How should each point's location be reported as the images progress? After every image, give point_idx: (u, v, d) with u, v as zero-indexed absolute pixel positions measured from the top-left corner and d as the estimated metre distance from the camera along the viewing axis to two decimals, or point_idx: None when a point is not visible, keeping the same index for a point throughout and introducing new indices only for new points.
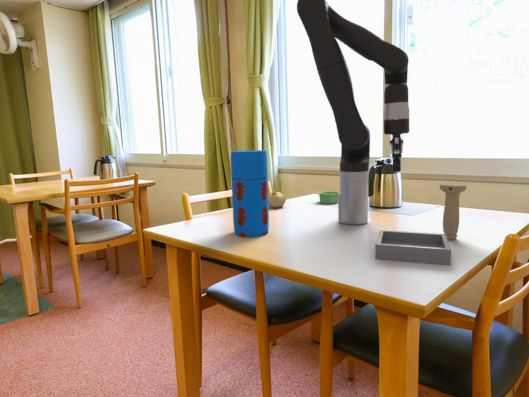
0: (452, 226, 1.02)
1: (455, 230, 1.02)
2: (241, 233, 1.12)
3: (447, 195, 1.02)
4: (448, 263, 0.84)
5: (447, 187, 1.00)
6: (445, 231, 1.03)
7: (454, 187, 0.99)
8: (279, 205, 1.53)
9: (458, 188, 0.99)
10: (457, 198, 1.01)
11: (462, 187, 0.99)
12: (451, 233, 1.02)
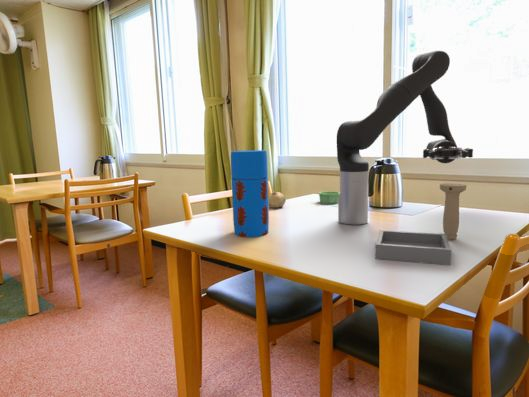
0: (452, 226, 1.02)
1: (455, 230, 1.02)
2: (241, 233, 1.12)
3: (447, 195, 1.02)
4: (448, 263, 0.84)
5: (447, 187, 1.00)
6: (445, 231, 1.03)
7: (454, 187, 0.99)
8: (279, 205, 1.53)
9: (458, 188, 0.99)
10: (457, 198, 1.01)
11: (462, 187, 0.99)
12: (451, 233, 1.02)
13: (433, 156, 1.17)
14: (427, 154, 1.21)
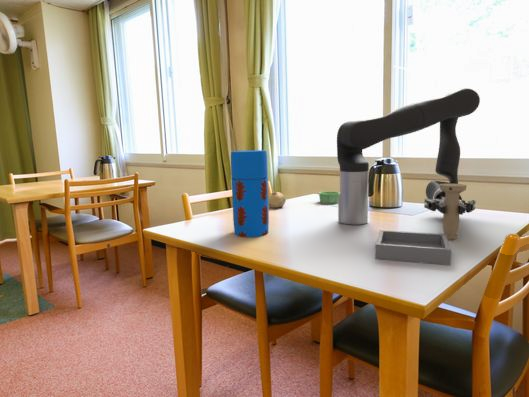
0: (452, 226, 1.02)
1: (455, 230, 1.02)
2: (241, 233, 1.12)
3: (447, 195, 1.02)
4: (448, 263, 0.84)
5: (447, 187, 1.00)
6: (445, 231, 1.03)
7: (454, 187, 0.99)
8: (279, 205, 1.53)
9: (458, 188, 0.99)
10: (457, 198, 1.01)
11: (462, 187, 0.99)
12: (451, 233, 1.02)
13: (444, 211, 1.01)
14: (436, 207, 1.05)
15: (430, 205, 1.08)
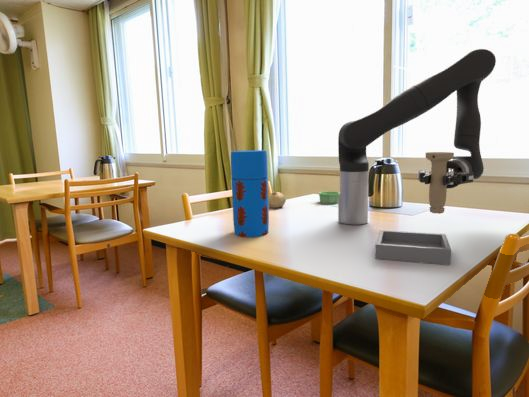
0: (436, 198, 0.93)
1: (440, 203, 0.93)
2: (241, 233, 1.12)
3: (432, 164, 0.93)
4: (448, 263, 0.84)
5: (430, 155, 0.92)
6: (430, 204, 0.95)
7: (437, 155, 0.91)
8: (279, 205, 1.53)
9: (441, 156, 0.90)
10: (442, 167, 0.92)
11: (446, 155, 0.90)
12: (436, 206, 0.94)
13: (426, 182, 0.93)
14: None
15: None
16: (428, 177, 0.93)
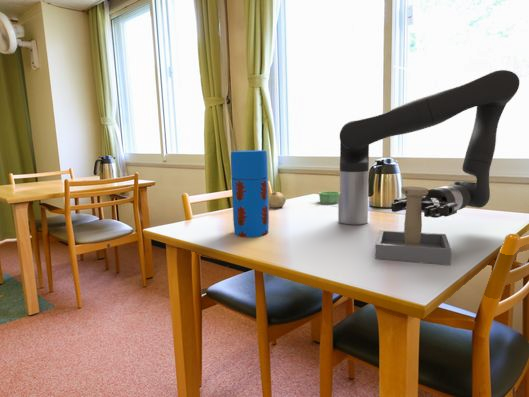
0: (409, 235, 0.91)
1: (413, 239, 0.91)
2: (241, 233, 1.12)
3: (407, 199, 0.91)
4: (448, 263, 0.84)
5: (404, 190, 0.90)
6: None
7: (409, 191, 0.89)
8: (279, 205, 1.53)
9: (413, 192, 0.88)
10: (415, 203, 0.89)
11: (417, 191, 0.87)
12: (409, 242, 0.91)
13: (393, 209, 0.93)
14: None
15: None
16: (396, 205, 0.93)
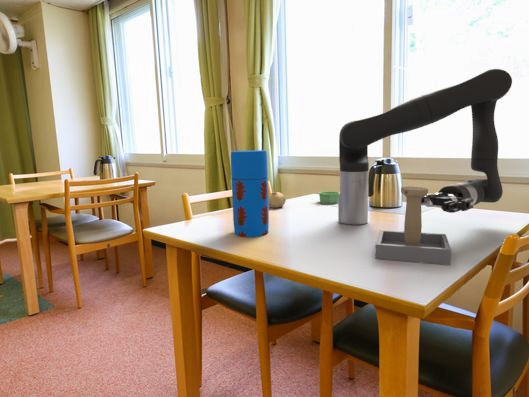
0: (409, 235, 0.91)
1: (413, 239, 0.91)
2: (241, 233, 1.12)
3: (407, 199, 0.91)
4: (448, 263, 0.84)
5: (403, 190, 0.90)
6: None
7: (409, 191, 0.89)
8: (279, 205, 1.53)
9: (413, 192, 0.88)
10: (415, 203, 0.89)
11: (417, 192, 0.87)
12: (409, 242, 0.91)
13: None
14: None
15: None
16: None
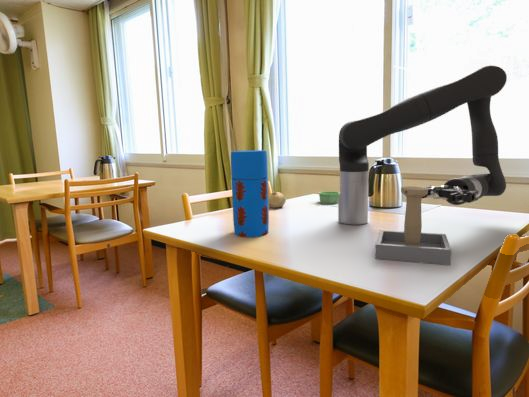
0: (409, 235, 0.91)
1: (413, 239, 0.91)
2: (241, 233, 1.12)
3: (407, 199, 0.91)
4: (448, 263, 0.84)
5: (403, 190, 0.90)
6: None
7: (409, 190, 0.89)
8: (279, 205, 1.53)
9: (413, 192, 0.88)
10: (415, 203, 0.89)
11: (417, 191, 0.88)
12: (409, 242, 0.92)
13: None
14: None
15: None
16: None
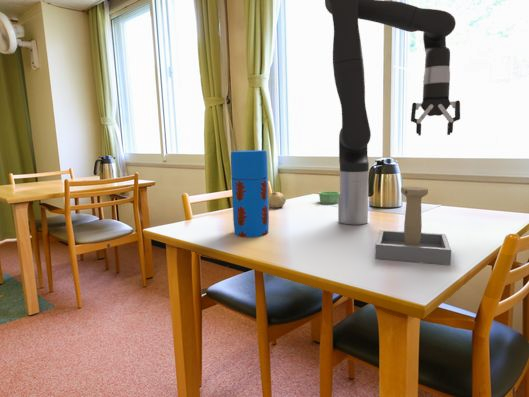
0: (409, 235, 0.91)
1: (413, 239, 0.91)
2: (241, 233, 1.12)
3: (406, 199, 0.91)
4: (448, 263, 0.84)
5: (403, 190, 0.90)
6: None
7: (409, 191, 0.89)
8: (279, 205, 1.53)
9: (412, 192, 0.88)
10: (415, 203, 0.89)
11: (417, 192, 0.87)
12: (409, 242, 0.91)
13: None
14: (414, 122, 1.23)
15: None
16: (420, 132, 1.22)
